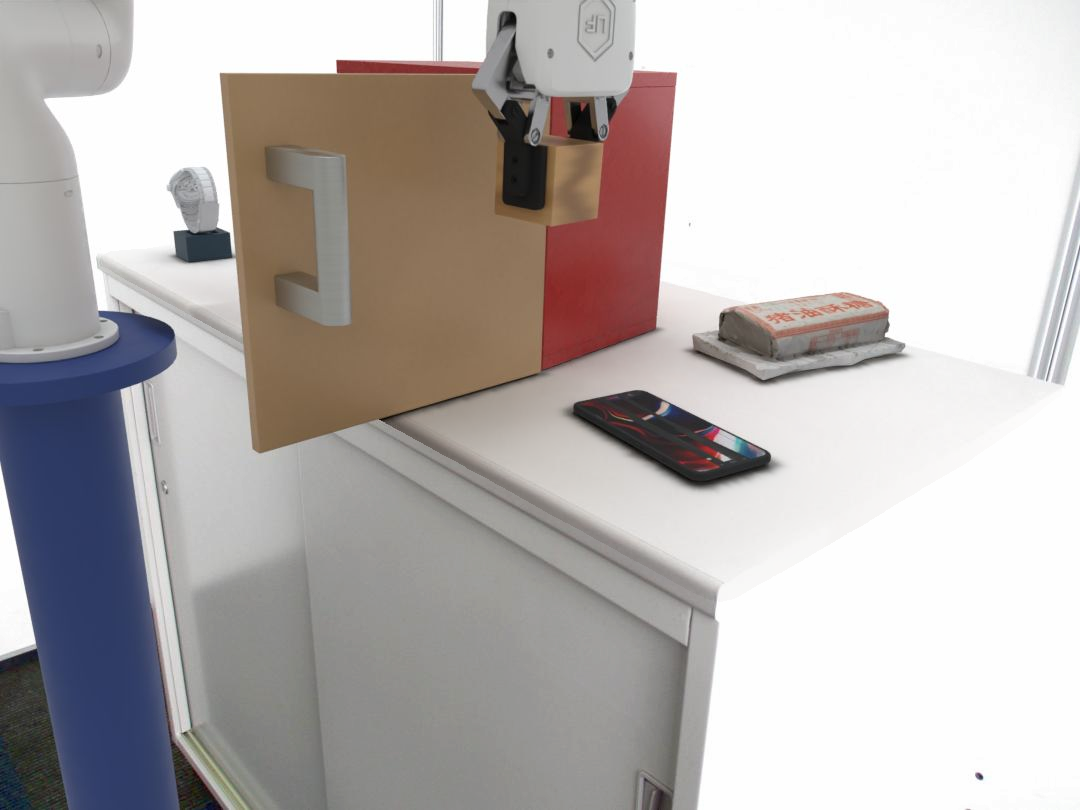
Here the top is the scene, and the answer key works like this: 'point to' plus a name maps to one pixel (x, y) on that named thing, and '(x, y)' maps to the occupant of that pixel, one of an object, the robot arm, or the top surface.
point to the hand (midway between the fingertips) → (551, 199)
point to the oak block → (560, 183)
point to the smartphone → (672, 435)
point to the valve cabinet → (598, 219)
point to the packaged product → (800, 334)
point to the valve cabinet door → (372, 249)
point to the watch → (198, 216)
